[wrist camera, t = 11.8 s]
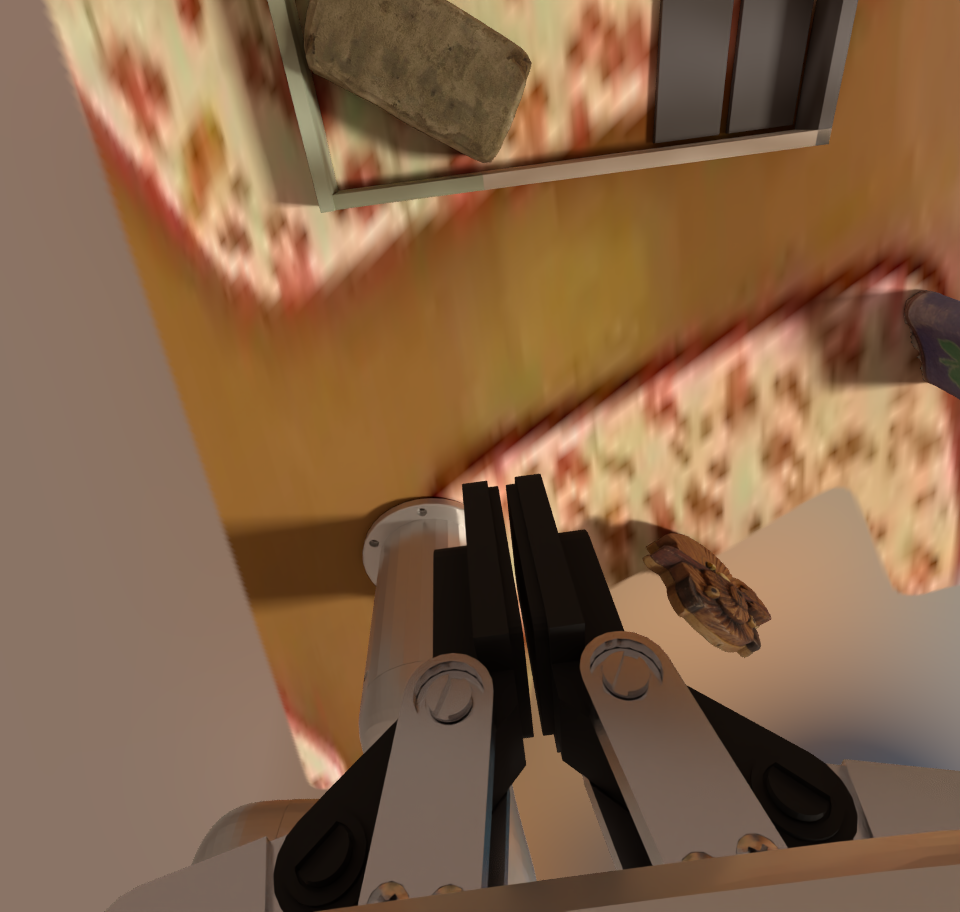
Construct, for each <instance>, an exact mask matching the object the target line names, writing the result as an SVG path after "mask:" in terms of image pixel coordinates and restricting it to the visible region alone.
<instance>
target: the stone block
mask: <svg viewBox="0 0 960 912" xmlns="http://www.w3.org/2000/svg"><path fill="white" fill-rule="evenodd" d="M304 49H305V54H306V60H307V63H308V66H309V69H310V70H312V71H313V73H314V74H316V75H319V76H321V77H323V78H325V79H327V80H329V81H330V82H332V83H334V84H336V85H338V86H341V87H343V88H345V89H347V90H348V91H350V92H352V93H354V94H356V95H357V96H360V97H362V98H364V99H366V100H368V101H370V102H372V103H374V104H376V105H377V106H379V107H381V108H382V109H384V110H385V111H387V112H388V113H390V114H392V115H393V116H395V117H397V118H398V119H399V120H401V121H403V122H405V123H406V124H408V125H410V126H412V127H414V128H416V129H417V130H419V131H421V132H423V133H425V134H427V135H429V136H431V137H433V138H435V139H437V140H439V141H441V142H442V143H444V144H446V145H448V146H450V147H452V148H454V149H455V150H457V151H459V152H461V153H463V154H465V155H467V156H469V157H471V158H473V159H475V160H477V161H480V162H482V163H487V162H491V161H492V160H493V158H494V157H496V155H497V153H498V152H499V150H500V148H501V146H502V144H503V141H504V138H505V137H506V135H507V133H508V131H509V129H510V127H511V124H512V122H513V119H514V117H515V114H516V110H517V108H518V105H519V103H520V100H521V98H522V95H523V92H524V88H525V85H526V80H527V77H528V74H529V72H530V68H531V64H532V63H531V61H530V59H529V57H528V55H527V53H526V52H525V51H524V50H523V49H522V48H520V47H519V46H518V45H516V44H515V43H513V42H512V41H510V40H509V39H507V38H506V37H504V36H503V35H501V34H500V33H498V32H496V31H495V30H493V29H492V28H490V27H488V26H487V25H485V24H484V23H482V22H481V21H479V20H478V19H476V18H474V17H473V16H471V15H470V14H468V13H466V12H465V11H463V10H462V9H460V8H458V7H457V6H455V5H453V4H452V3H450V2H448V1H447V0H310V2H309V6H308V9H307V15H306V22H305V31H304Z"/></svg>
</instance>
